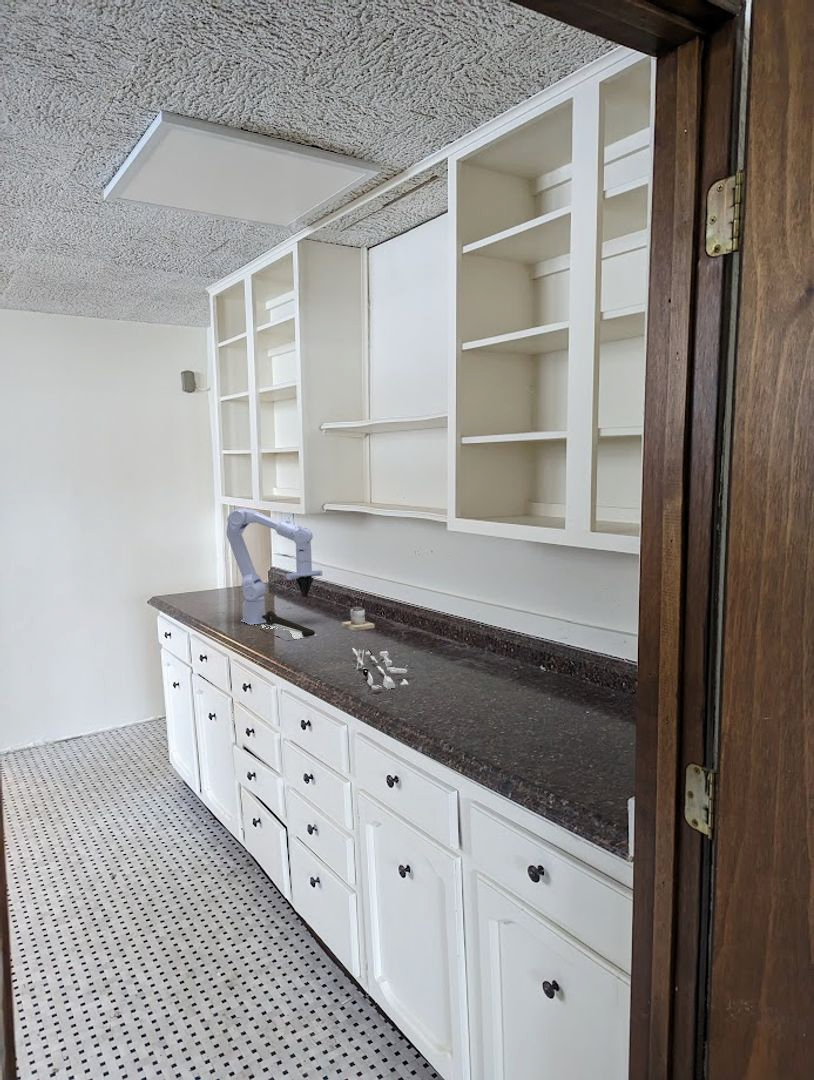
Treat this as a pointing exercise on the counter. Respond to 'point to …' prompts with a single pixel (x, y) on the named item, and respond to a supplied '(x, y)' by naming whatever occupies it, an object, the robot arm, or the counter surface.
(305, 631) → the dark brown hooked rod
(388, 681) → the miniature set
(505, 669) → the counter surface
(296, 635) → the tool mat
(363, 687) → the counter surface
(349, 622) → the cup on beige base
